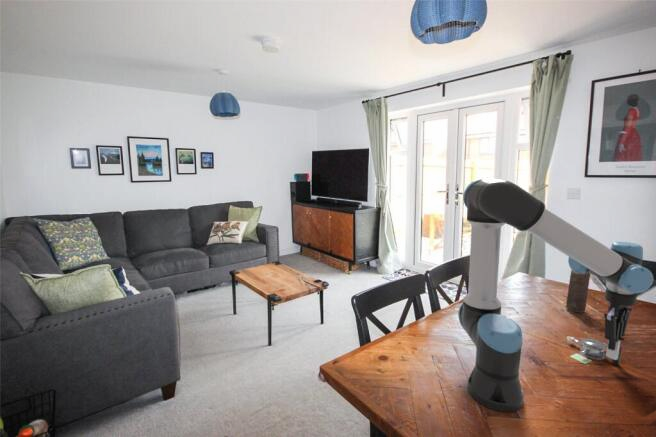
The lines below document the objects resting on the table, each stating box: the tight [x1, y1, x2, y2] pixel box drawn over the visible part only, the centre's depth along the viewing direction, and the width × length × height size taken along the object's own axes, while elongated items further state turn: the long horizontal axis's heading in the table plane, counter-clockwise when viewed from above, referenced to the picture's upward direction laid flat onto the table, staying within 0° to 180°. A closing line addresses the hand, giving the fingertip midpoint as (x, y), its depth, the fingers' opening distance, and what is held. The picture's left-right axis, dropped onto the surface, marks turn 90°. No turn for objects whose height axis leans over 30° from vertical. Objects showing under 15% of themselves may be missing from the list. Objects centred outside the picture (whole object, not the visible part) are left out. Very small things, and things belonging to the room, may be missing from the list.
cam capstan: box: [566, 335, 623, 366], centre depth 119 cm, size 15×17×7 cm
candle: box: [565, 269, 591, 313], centre depth 154 cm, size 8×7×20 cm
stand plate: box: [569, 348, 606, 365], centre depth 119 cm, size 20×13×1 cm, turn 114°
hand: (611, 357), depth 110 cm, fingers closed
